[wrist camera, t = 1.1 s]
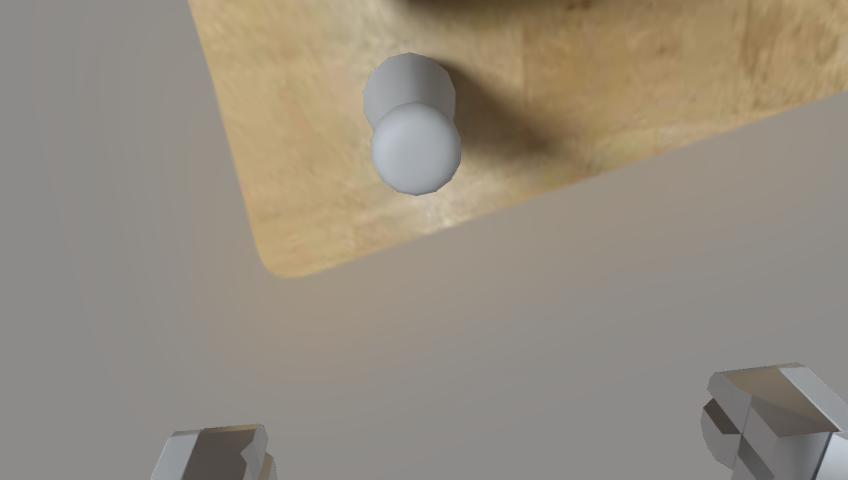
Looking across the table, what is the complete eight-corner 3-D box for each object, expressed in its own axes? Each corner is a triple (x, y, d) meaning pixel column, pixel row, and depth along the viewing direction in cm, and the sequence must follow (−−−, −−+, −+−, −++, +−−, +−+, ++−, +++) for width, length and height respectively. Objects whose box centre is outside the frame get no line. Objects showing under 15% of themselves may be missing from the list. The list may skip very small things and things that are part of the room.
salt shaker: (387, 30, 34) (387, 68, 23) (467, 71, 36) (504, 127, 24) (350, 114, 37) (333, 187, 25) (427, 149, 38) (444, 234, 27)
